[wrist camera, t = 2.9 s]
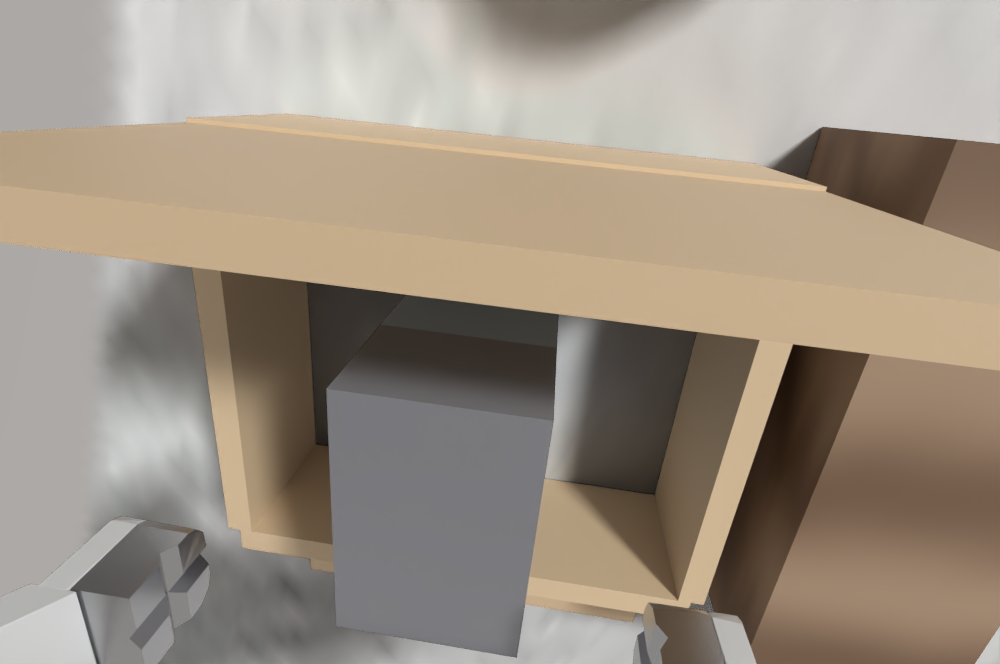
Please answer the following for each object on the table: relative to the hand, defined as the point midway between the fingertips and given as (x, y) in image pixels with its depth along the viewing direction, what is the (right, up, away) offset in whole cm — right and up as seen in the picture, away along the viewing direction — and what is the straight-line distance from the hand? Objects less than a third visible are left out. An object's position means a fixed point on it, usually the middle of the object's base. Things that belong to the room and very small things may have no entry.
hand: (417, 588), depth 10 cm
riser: (+13, +3, +9) cm, 16 cm away
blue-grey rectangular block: (+1, +5, +10) cm, 11 cm away
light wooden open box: (+1, +2, +11) cm, 11 cm away
